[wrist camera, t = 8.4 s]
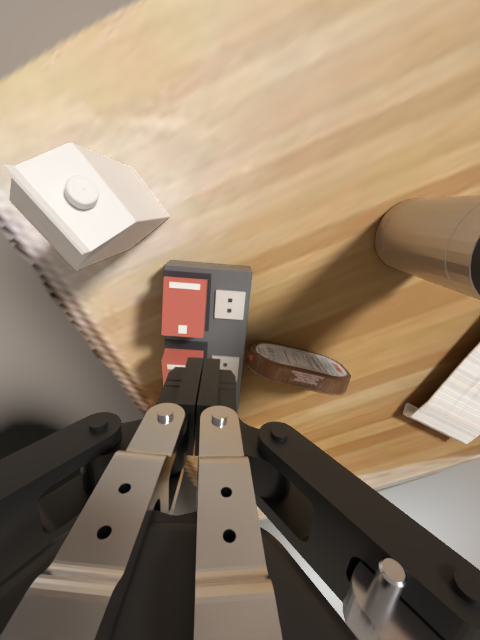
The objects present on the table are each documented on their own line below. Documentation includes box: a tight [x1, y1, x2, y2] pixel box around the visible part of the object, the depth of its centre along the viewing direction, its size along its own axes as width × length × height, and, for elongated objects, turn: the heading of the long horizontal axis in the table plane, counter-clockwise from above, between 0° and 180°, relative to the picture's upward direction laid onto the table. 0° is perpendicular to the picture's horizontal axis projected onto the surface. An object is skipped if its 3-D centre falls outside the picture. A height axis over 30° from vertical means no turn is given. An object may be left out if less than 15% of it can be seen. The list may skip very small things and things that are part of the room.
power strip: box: [164, 260, 252, 415], centre depth 43 cm, size 11×28×5 cm, turn 175°
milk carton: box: [2, 142, 170, 271], centre depth 29 cm, size 7×7×19 cm
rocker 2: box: [161, 348, 204, 386], centre depth 40 cm, size 5×7×2 cm
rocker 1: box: [161, 276, 208, 338], centre depth 36 cm, size 5×7×2 cm
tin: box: [246, 342, 351, 395], centre depth 42 cm, size 15×3×8 cm, turn 75°
